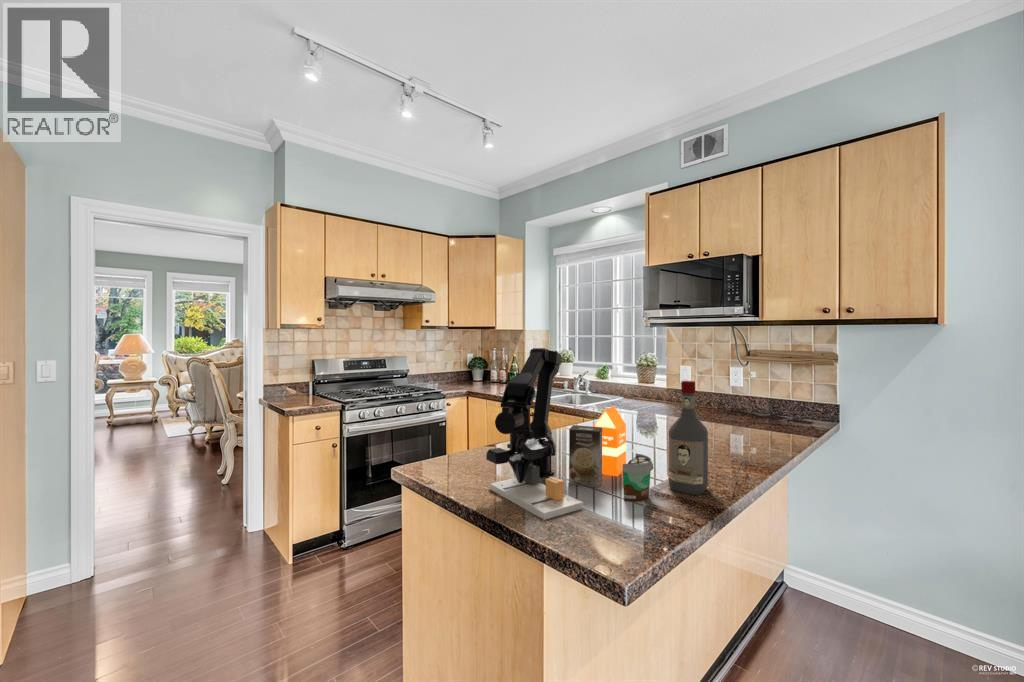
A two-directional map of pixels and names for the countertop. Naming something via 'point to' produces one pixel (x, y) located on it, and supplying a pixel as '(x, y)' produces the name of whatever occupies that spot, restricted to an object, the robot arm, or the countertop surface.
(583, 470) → the coffee box
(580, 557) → the countertop surface
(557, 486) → the orange fader
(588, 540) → the countertop surface
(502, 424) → the robot arm
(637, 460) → the food container
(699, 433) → the liquor
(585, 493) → the countertop surface
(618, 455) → the orange juice
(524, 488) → the panel
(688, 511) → the countertop surface
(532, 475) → the block
